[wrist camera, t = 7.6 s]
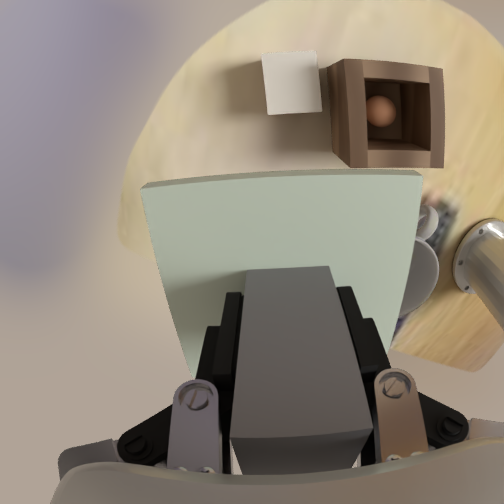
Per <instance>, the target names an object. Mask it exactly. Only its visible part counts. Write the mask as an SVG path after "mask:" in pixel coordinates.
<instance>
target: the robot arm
mask: <svg viewBox="0 0 504 504" xmlns="http://www.w3.org/2000/svg"><path fill="white" fill-rule="evenodd" d="M453 277H454V280H455V282H456V284H457V285H458V287H459V288H460V289H461V290H462V291H464V292H466V293H469V294H477V295H478V296H479V298H480V299H481V300H482V301H483V303H484V304H485V305H486V307H487V308H488V309H489V311H490V312H491V314H492V315H493V316H494V318H495V319H496V321H497V322H498V323H499V325H500V326H501V328H502V329H503V331H504V222H503V221H501V220H499V219H487V220H484V221H482V222H480V223H478V224H477V225H476V226H474V227H473V228H472V229H471V230H470V231H469V232H468V233H467V234H466V236H465V237H464V238H463V240H462V241H461V243H460V245H459V247H458V249H457V251H456V254H455V257H454V261H453ZM336 289H337V293H338V296H339V299H340V302H341V306H342V309H343V312H344V316H345V319H346V323H347V326H348V330H349V333H350V337H351V340H352V344H353V347H354V351H355V355H356V359H357V362H358V366H359V370H360V374H361V378H362V382H363V386H364V390H365V394H366V398H367V402H368V406H369V411H370V415H371V420H372V424H373V429H372V431H371V433H370V435H369V437H368V439H367V441H366V443H365V445H364V446H363V448H362V450H361V452H360V454H359V456H358V457H357V467H356V468H349V469H342V470H335V471H326V472H316V473H303V474H286V475H233V457H232V443H231V440H230V428H231V418H232V409H233V399H234V389H235V379H236V369H237V360H238V350H239V340H240V330H241V321H242V311H243V302H244V295H242V293H241V292H227V293H226V297H225V303H224V308H223V314H222V319H221V325H220V326H208V327H207V329H206V333H205V337H204V341H203V346H202V350H201V355H200V359H199V364H198V368H197V373H196V378H195V380H190V381H188V382H185V383H183V384H182V385H181V386H179V387H178V389H177V390H176V391H175V394H174V398H173V404H172V405H170V406H169V407H167V408H165V409H164V410H162V411H160V412H159V413H157V414H155V415H154V416H152V417H150V418H149V419H147V420H145V421H143V422H142V423H140V424H138V425H137V426H135V427H133V428H131V429H130V430H128V431H126V432H125V433H124V434H122V436H121V437H120V438H119V440H115V441H113V440H112V439H108V440H104V441H100V442H96V443H91V444H87V445H83V446H77V447H72V448H69V449H66V450H64V451H63V452H62V453H61V454H60V456H59V458H58V468H59V476H60V483H59V485H58V487H57V489H56V491H55V493H54V495H53V498H52V500H51V503H50V504H504V423H502V422H495V421H488V420H482V419H475V418H472V419H471V420H467V419H466V418H465V417H464V415H463V414H461V413H460V412H458V411H456V410H454V409H452V408H450V407H448V406H446V405H444V404H442V403H440V402H438V401H435V400H434V399H432V398H430V397H427V396H426V395H423V394H422V393H420V392H418V391H417V388H416V383H415V381H414V379H413V377H412V376H411V375H410V374H409V373H408V372H406V371H404V370H401V369H398V368H391V366H390V363H389V360H388V357H387V354H386V352H385V349H384V346H383V343H382V341H381V338H380V335H379V333H378V330H377V327H376V325H375V322H374V320H373V318H363V316H362V314H361V311H360V308H359V305H358V303H357V300H356V297H355V295H354V292H353V289H352V287H351V286H341V287H336Z"/></svg>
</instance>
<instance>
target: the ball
mask: <svg viewBox="0 0 504 504" xmlns="http://www.w3.org/2000/svg"><path fill="white" fill-rule="evenodd" d="M366 115H367V120H368V121H369V122H370V123H371V124H373V125H374V126H377V127H386V126H389V125H390V124H392V123H393V121H394V120H395V117H396V108H395V106H394V104H393V102H392V101H391V100H390V99H388V98H387V97H384V96H380V95H377V96H373V97H371V98H369V99H368V100H367V101H366Z"/></svg>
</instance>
